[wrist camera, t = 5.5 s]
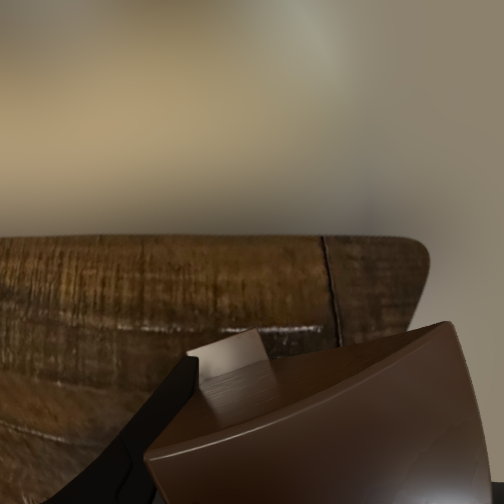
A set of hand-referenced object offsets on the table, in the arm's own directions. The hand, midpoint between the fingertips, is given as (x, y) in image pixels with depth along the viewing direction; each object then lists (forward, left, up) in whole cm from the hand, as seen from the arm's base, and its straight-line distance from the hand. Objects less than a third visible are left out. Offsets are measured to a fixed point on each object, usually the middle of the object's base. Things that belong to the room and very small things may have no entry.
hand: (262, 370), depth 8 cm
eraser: (-1, +1, -8) cm, 8 cm away
